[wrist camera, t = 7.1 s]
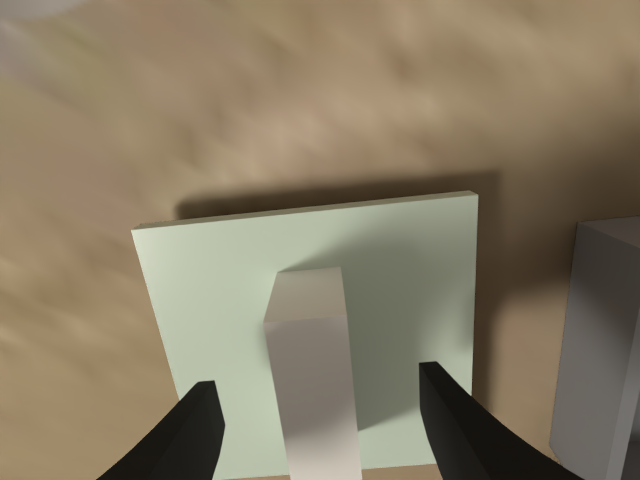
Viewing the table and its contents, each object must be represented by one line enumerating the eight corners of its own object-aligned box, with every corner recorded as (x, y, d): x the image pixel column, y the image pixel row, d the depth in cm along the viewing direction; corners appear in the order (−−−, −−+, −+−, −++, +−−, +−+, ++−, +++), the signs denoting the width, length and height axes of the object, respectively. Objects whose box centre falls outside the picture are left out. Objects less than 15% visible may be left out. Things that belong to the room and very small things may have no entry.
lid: (455, 428, 18) (505, 546, 13) (213, 448, 19) (173, 568, 14) (459, 185, 14) (533, 222, 9) (152, 216, 15) (67, 268, 10)
